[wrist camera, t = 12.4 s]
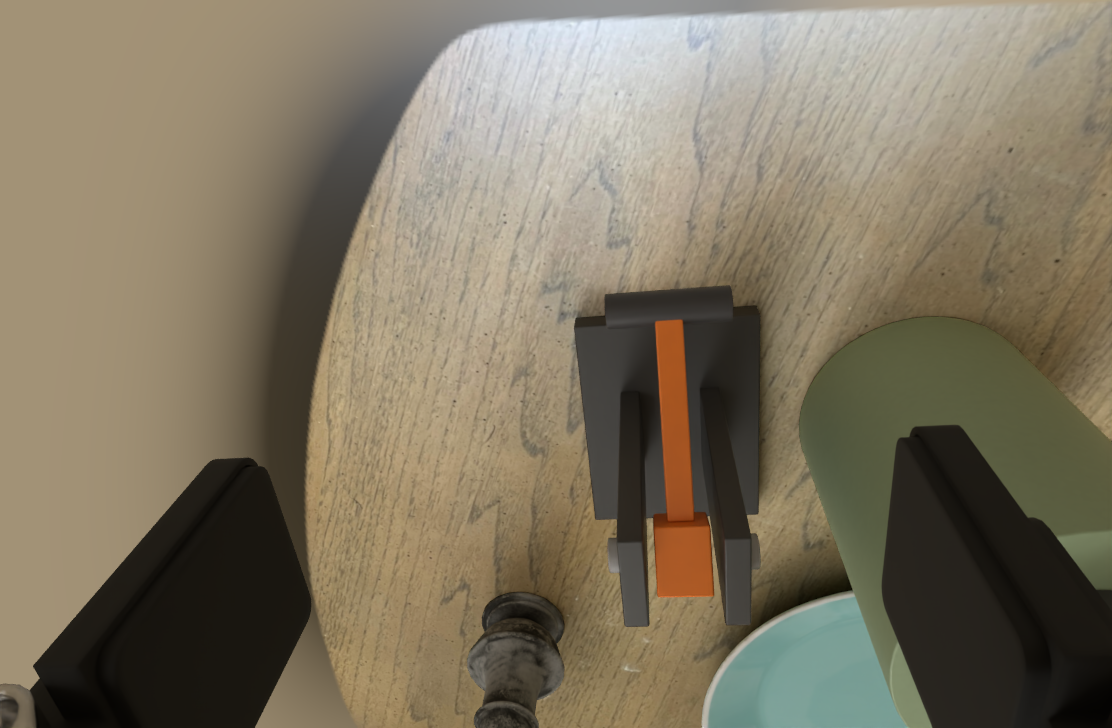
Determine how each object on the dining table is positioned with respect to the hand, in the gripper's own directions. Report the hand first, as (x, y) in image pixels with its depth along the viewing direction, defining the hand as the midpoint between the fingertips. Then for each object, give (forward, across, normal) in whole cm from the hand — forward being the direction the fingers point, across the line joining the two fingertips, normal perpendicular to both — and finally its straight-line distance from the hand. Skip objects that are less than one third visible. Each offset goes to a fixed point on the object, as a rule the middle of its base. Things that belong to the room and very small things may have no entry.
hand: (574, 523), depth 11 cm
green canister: (+26, -14, +15) cm, 34 cm away
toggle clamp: (+26, -2, +14) cm, 30 cm away
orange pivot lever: (+18, -2, +10) cm, 21 cm away
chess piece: (+26, +8, +29) cm, 40 cm away
